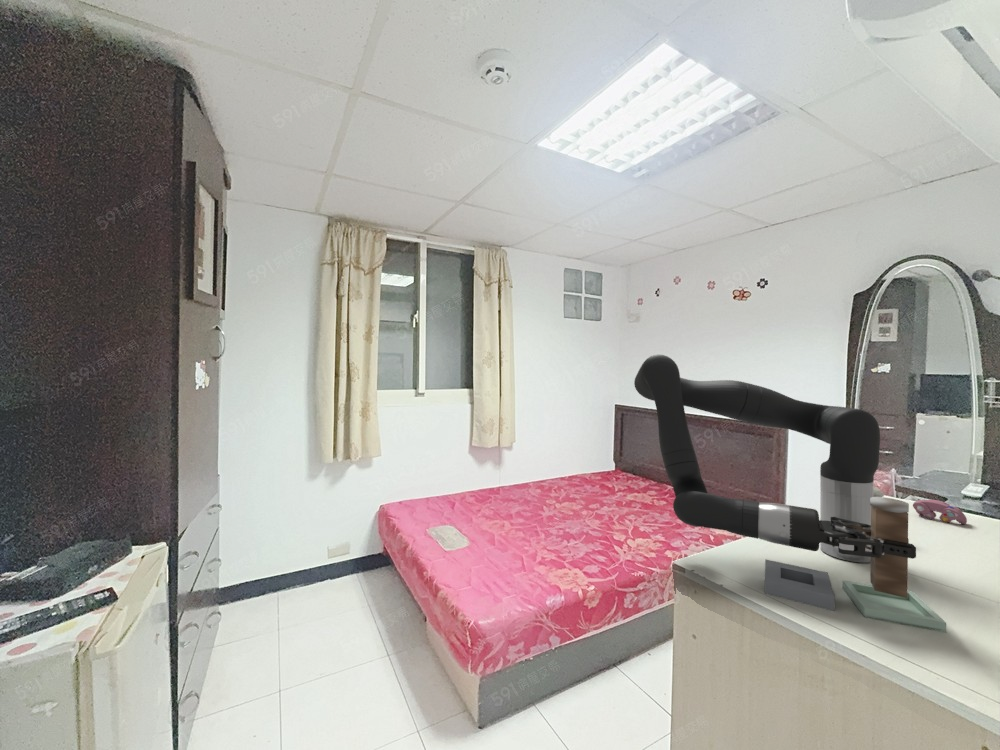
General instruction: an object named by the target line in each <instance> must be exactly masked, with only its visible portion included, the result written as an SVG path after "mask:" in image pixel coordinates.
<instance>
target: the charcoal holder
mask: <svg viewBox="0 0 1000 750" xmlns="http://www.w3.org/2000/svg"><path fill="white" fill-rule="evenodd" d="M764 563H765V564H764V565H765V566H764V567H765V568H764V594H765V595H768V596H773V597H776V598H781V599H785V600H788V601H793V602H797V603H800V604H805V605H809V606H811V607H816V608H821V609H825V610H827V611H828V610H829V611H833V612H835V610H836V609H835V608H836V607H835V606H836V604H835V603H836V602H835V600H836V599H835V598H836V597H835V593H834V588H833V585H832V582H831V579H830V575H829V572H826V571H822V570H818V569H812V568H807V567H804V566H799V565H794V564H789V563H783V562H779V561H775V560H771V559H766V558H765V562H764Z"/></svg>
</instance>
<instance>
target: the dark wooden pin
mask: <svg viewBox="0 0 1000 750" xmlns="http://www.w3.org/2000/svg"><path fill="white" fill-rule="evenodd" d="M870 506H871V536H873V537H877V538H882V539H884V540H885V539H886V540H892V541H897V542H903V543H908V539H909V512H910V511H909V510H910V509H909V508H910V505H909V503H908V502H906V501H904V500H900V499H894V498H892V497H891V498H890V497H885V496H883V497H871V498H870ZM871 548H872V545H871ZM908 562H909V558H906V557H901V556H896V555H890V554H885V555H882V558H876V557H871V560H870V562H869V564H870V565H869V566H870V567H869V568H870V570H869V572H870V573H869V575H870V576H869V581H870V585H872V586H873V588H874V590H875V591H878V592H883V593H887V594H892V595H896V596H900V597H905V598H907V591H908V575H909V574H908V573H909V572H908V569H909V567H908V565H909V563H908Z"/></svg>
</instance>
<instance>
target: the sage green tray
mask: <svg viewBox="0 0 1000 750" xmlns="http://www.w3.org/2000/svg"><path fill="white" fill-rule="evenodd" d="M842 590H843V591H844V593H846V595H847V596H848V598H849V599H850V600H851V602H852V603H853V605H854V606H855V607H856V608H857V609H858V611H859V612H860V613H861V615H862V616H863V617H864V618H866V619H872V620H877V621H883V622H887V623H893V624H899V625H904V626H909V627H914V628H919V629H926V630H930V631H937V632H941V633H947V622H946V621H945V620H944V619H943V618H942V617H941V616H940V615H939V614H938V613H936V612H935V611H934V609H933V608H931V607H930V606H929V604H927V603H926V602H925V601H923V599H921V597H920V596H918V594H916V593H915V592H914V591H911V590H907V598H905V597H900V596H896V595H892V594H887V593H883V592H878V591H875V590H874V588H873V586H872V584H869V583H862V582H857V581H856V582H855V581H851V580H844V579H843V580H842Z"/></svg>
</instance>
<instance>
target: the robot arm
mask: <svg viewBox="0 0 1000 750" xmlns="http://www.w3.org/2000/svg"><path fill="white" fill-rule="evenodd" d="M680 375H681V374H680V369H679V366H678V365H677V363H676V361H674V359H672V358H671V357H669V356H668V355H665V354H653V355H650V356H649V357H648V358H646V359H645V360H644V361H643V363H642V364H641V366H640V368H639V369H638V372H637V373H636V375H635V378H634V384H633V385H634V388H635V390H636V392H637V393H638V395H640V396H641V397H643V398H644V399H646V400H647V399H648V400H650V401H654V403H655V408H656V415H657V424H658V441H659V448H660V453H661V458H662V461H663V464H664V470H665V472H666V475H667V478H668V479H669V481H670V482H671V485H672V489H673V492H674V496H675V497H674V500H673V504H672V506H673V507H672V508H673V511H674V514H675V515H676V517H677V518H678V520H680V521H681V522H682V523H684V524H686V525H689V526H692V527H695V528H697V527H698V528H699V527H702V528H707V529H711V530H712V529H713V530H721V531H725V532H729V533H732V534H735V535H738V536H743V537H749V538H753V539H759V540H763V541H765V542H769V543H771V544H772V543H773V544H777V545H782V546H785V547H791V548H797V549H801V550H808V551H812V552H817V551H819V550H820V551H822V552H823V553H824V554H827V555H829V556H831V557H834V558H837V559H839V560H844V561H848V562H852V563H870V560H871V557H876V558H882V555H885V554H890V555H896V556H901V557H906V558H908V559H916V558H917V547H916V546H915V545H914V544H913V543H909V540H910V539H909V538H908V543H903V542H897V541H892V540H886V539H885V540H884V539H882V538H877V537H873V536H871V506H870V498H871V497H874V492H873V486H874V479H875V478H874V477H875V473H876V472H877V470H878V468H879V464H880V463H879V462H880V448H881V431H880V430H881V429H880V425H879V423H878V421H877V419H876V417H874V415H872V413H870V412H868V411H866V410H863V409H861V408H860V409H859V408H853V407H847V406H838V405H837V406H836V405H835V406H834V405H824V404H819V403H814V402H813V403H812V402H807V401H802V400H798V399H794V398H792V397H789V396H788V395H785V394H782V393H781V392H779V391H775V390H773V389H770V388H767V387H765V386H760V385H756V384H753V383H750V382H749V383H748V382H745V381H739V380H731V379H729V380H728V379H721V380H694V379H688V378H683V377H681V376H680ZM685 407H688V408H692V409H696V410H699V411H704V412H705V413H706V412H707V413H711V414H714V415H719V416H722V417H725V418H729V419H733V420H735V421H740V422H743V423H747V424H751V425H757V426H762V427H768V428H769V427H771V428H778V429H786V430H791V431H792V432H793V431H795V432H797V433H800V434H803V435H806V436H809V437H810V438H814V439H816V440H819V441H822V442H824V443H826V444H829V456H828V458H827V460H826V461H823V462H822V463H821V465H820V467H819V468H820V469H819V470H820V471H819V472H820V474H819V475H820V476H819V478H820V479H819V480H820V487H819V488H820V492H819V493H820V515H819V512H818V510H817V509H816V508H808V507H802V506H797V505H790V504H782V503H777V502H763V501H762V502H761V501H755V500H747V499H739V498H729V497H724V496H721V495H717V494H712V493H709V492H708V489H707V488H706V485H705V483H704V480H703V477H702V475H701V470H700V469H701V468H700V465H699V461H698V457H697V454H696V451H695V448H694V444H693V440H692V438H691V434H690V430H689V425H688V422H687V417H686V416H687V415H686V411H685ZM871 545H872V548H871Z"/></svg>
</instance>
